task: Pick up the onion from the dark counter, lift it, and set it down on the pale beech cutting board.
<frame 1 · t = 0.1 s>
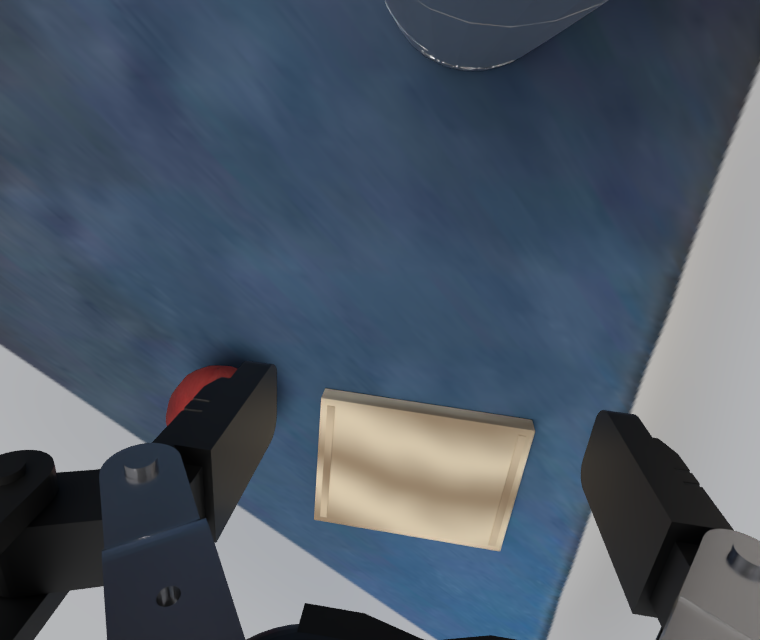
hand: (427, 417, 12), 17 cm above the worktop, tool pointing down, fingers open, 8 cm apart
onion: (241, 379, 33), on the worktop
board: (416, 467, 34), on the worktop
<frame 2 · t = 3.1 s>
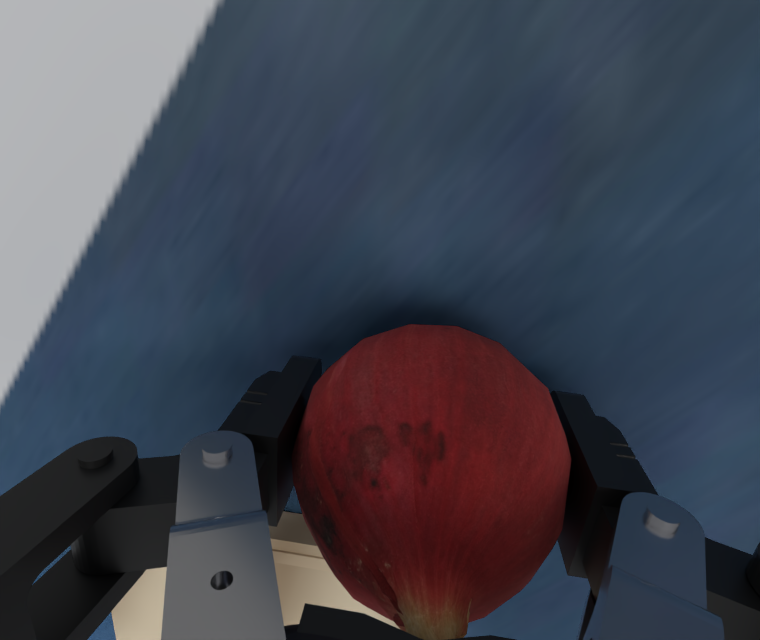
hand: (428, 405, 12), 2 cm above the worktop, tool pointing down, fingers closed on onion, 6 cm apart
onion: (430, 373, 14), on the worktop, touching gripper
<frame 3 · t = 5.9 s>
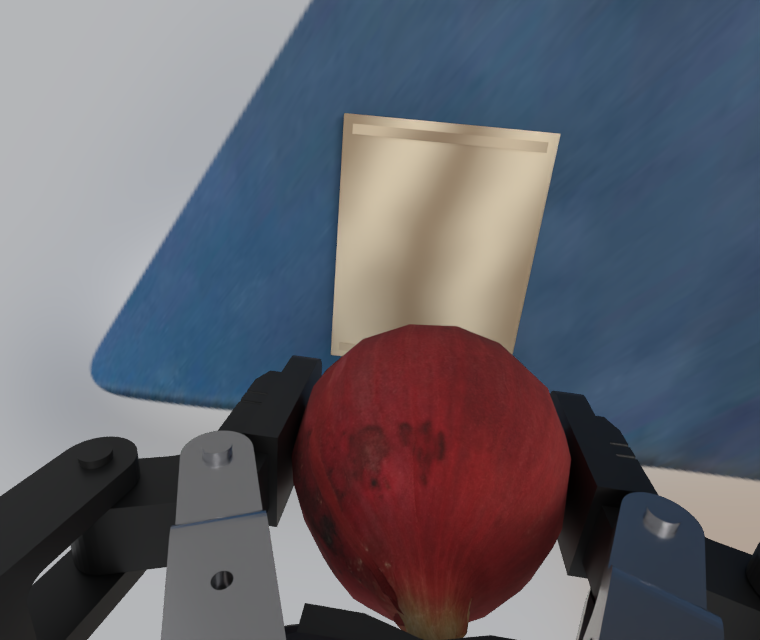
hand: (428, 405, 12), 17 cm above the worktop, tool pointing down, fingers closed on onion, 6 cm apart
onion: (430, 373, 14), point 15 cm above the worktop, touching gripper
board: (432, 251, 28), on the worktop
when the fingers open (5 cm above the worktop, at t = 9.0 s): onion drops 2 cm, resting on board.
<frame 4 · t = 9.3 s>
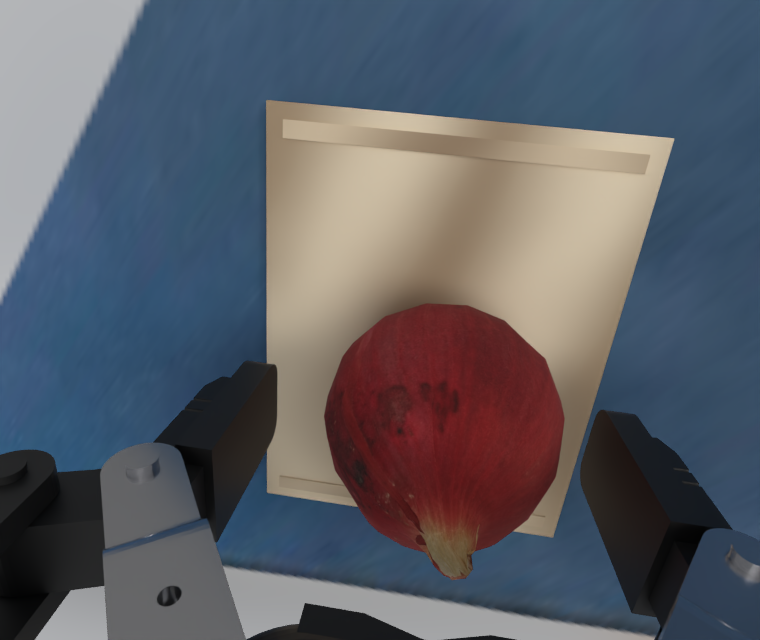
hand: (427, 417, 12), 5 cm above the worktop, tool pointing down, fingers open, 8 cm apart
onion: (441, 350, 16), point 1 cm above the worktop, touching board
board: (431, 335, 17), on the worktop
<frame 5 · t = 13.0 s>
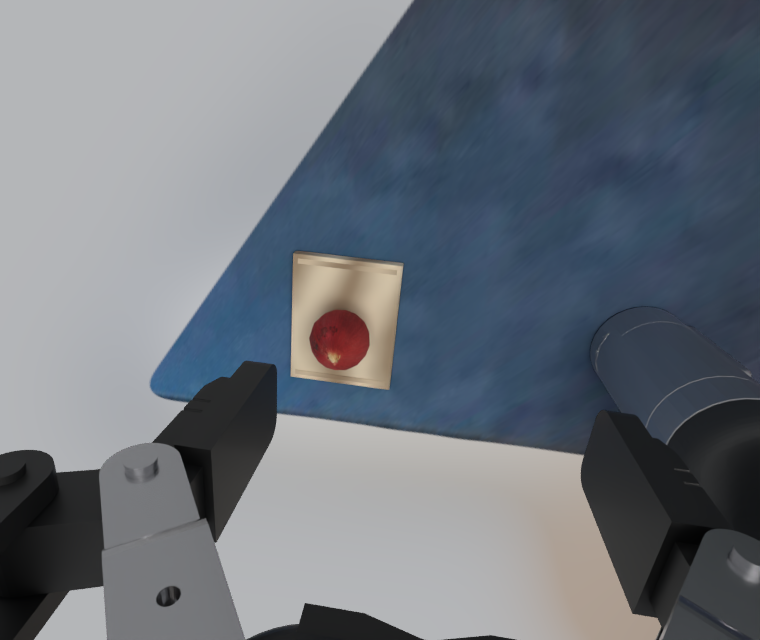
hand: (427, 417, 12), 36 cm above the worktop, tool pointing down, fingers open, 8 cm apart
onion: (347, 324, 50), point 1 cm above the worktop, touching board
board: (345, 320, 51), on the worktop
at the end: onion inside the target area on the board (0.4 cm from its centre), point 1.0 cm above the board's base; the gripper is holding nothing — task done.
